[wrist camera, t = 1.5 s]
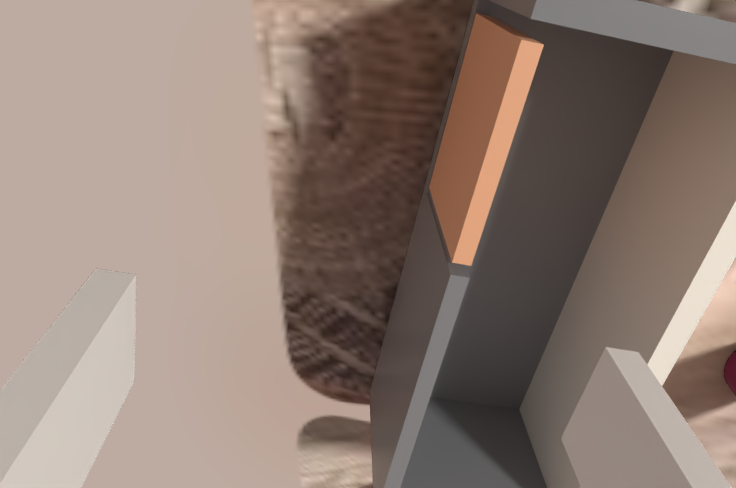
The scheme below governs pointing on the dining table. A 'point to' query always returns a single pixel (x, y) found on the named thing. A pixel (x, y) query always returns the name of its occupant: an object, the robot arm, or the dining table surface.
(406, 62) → the dining table surface
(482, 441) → the storage box
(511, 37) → the box door
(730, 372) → the cup
